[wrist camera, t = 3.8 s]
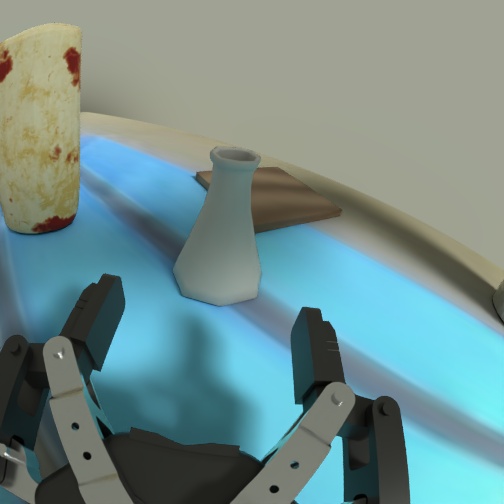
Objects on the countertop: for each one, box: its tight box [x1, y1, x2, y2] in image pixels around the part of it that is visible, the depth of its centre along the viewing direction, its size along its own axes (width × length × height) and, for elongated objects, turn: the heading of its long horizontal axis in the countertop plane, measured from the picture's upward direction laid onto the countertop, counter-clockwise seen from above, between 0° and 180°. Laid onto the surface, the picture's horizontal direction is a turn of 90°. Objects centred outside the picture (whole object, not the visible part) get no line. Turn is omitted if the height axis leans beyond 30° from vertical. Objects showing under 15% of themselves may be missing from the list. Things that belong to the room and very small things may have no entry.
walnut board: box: [196, 167, 342, 233], centre depth 36 cm, size 14×14×1 cm
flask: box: [173, 147, 262, 306], centre depth 19 cm, size 7×7×10 cm
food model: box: [0, 23, 82, 233], centre depth 17 cm, size 10×7×20 cm
